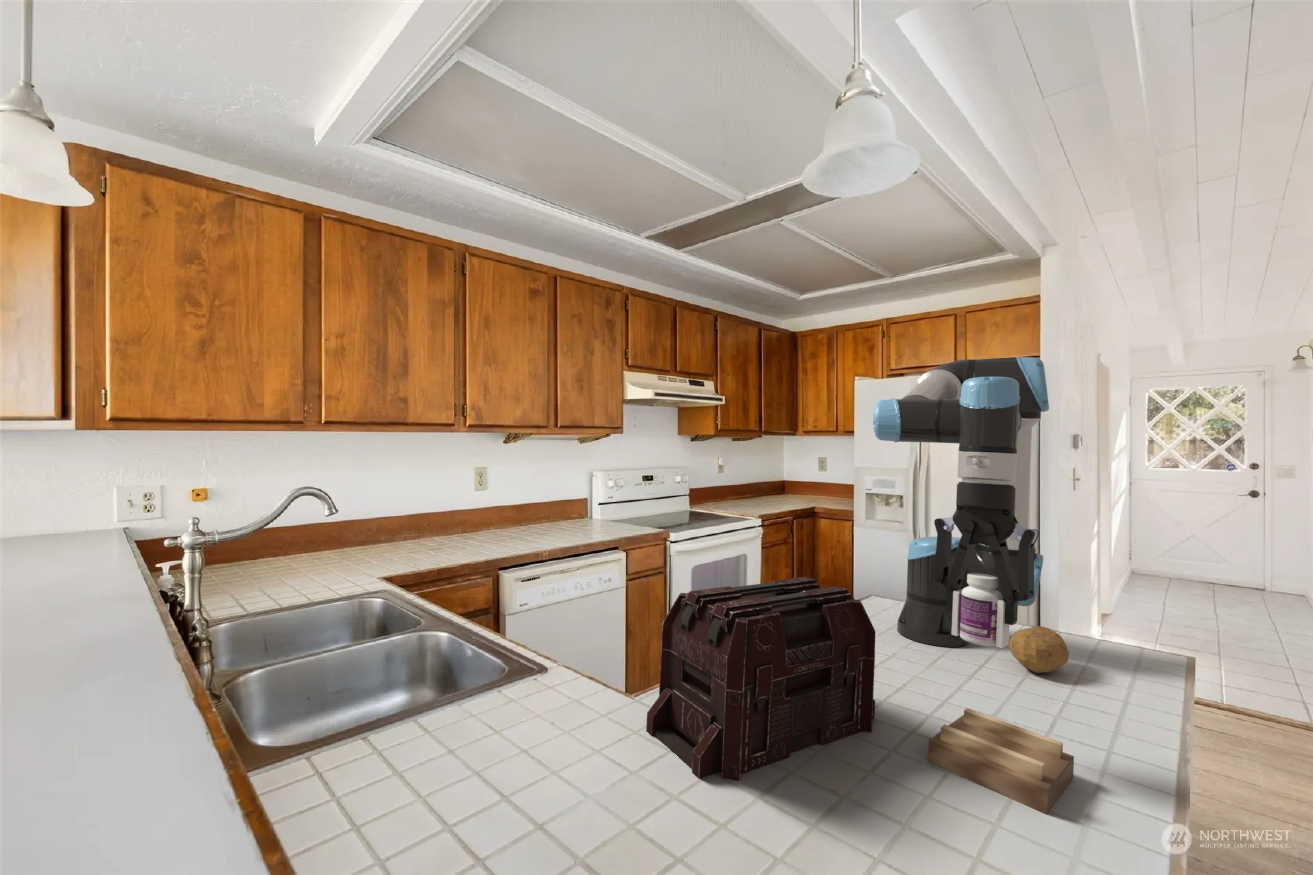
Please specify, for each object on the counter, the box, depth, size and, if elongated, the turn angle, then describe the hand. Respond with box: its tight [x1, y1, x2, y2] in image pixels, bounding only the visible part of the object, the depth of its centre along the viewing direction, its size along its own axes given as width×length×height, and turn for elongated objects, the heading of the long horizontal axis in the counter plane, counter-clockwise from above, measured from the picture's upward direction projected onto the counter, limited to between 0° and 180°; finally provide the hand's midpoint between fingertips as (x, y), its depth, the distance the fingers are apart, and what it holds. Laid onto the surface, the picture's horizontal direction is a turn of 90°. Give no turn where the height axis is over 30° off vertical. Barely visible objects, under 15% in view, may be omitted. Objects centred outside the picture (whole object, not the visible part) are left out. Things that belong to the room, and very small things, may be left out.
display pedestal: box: [927, 708, 1075, 815], centre depth 77 cm, size 14×12×5 cm
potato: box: [1008, 625, 1070, 674], centre depth 114 cm, size 10×14×8 cm
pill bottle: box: [960, 573, 1003, 647], centre depth 83 cm, size 5×5×10 cm
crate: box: [645, 576, 876, 782], centre depth 87 cm, size 35×19×21 cm, turn 122°
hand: (979, 639), depth 83 cm, fingers closed on pill bottle, 5 cm apart
